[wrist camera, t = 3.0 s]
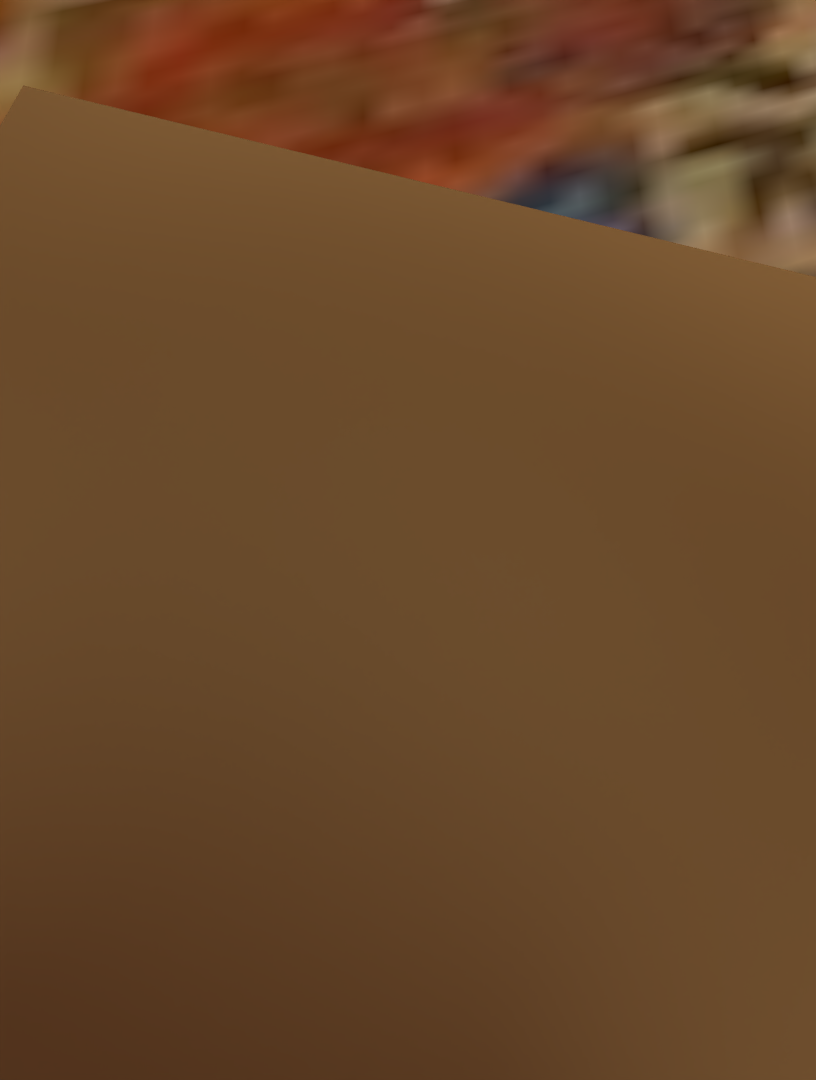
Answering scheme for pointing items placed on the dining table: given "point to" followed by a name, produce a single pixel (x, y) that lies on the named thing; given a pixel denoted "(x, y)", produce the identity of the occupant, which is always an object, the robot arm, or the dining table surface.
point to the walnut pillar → (393, 627)
